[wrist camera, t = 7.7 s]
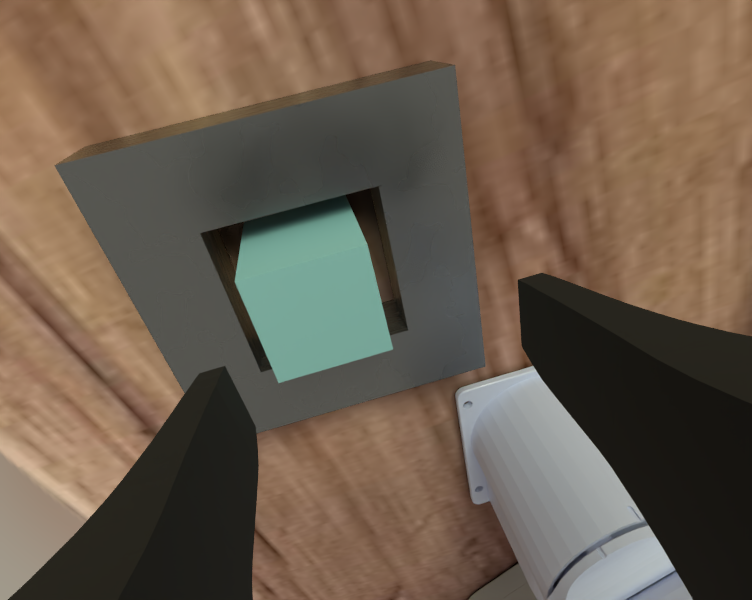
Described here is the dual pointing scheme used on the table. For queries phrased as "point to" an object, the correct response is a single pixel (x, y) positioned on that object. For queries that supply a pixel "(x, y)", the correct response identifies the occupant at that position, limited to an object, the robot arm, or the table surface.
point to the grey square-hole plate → (283, 192)
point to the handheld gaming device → (506, 587)
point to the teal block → (311, 288)
